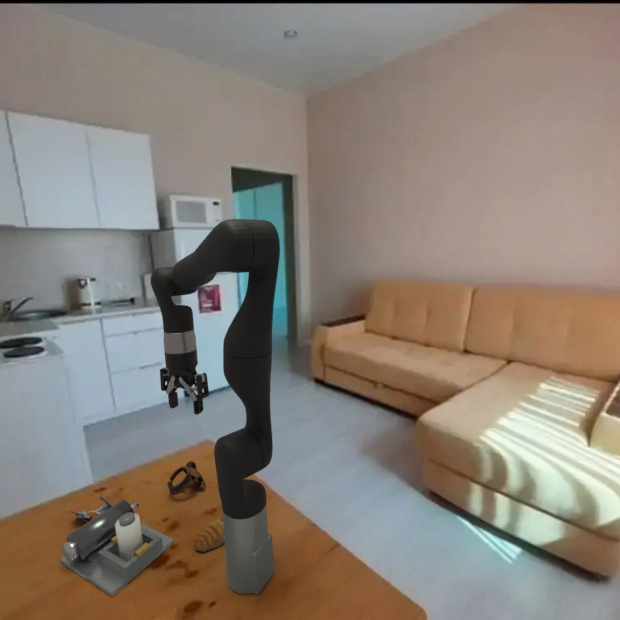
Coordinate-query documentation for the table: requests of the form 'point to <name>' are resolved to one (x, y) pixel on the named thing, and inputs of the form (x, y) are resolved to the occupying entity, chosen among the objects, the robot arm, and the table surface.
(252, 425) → the robot arm
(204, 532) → the pastry
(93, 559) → the motor unit
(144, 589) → the table surface
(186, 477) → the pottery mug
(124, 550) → the white cylinder roll
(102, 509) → the snack package
